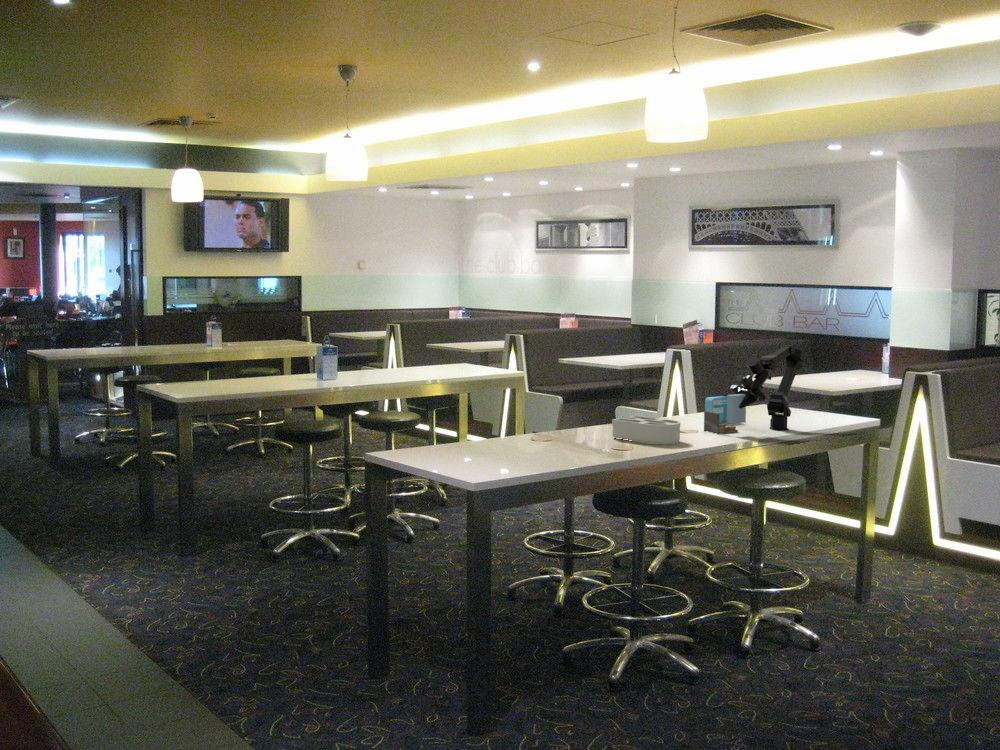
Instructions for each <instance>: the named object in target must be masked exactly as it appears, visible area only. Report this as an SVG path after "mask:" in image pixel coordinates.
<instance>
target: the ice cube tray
mask: <svg viewBox="0 0 1000 750" xmlns="http://www.w3.org/2000/svg"><path fill="white" fill-rule="evenodd" d="M611 424H612V438H613V437H615V438H622V439H628V440H632V441H636V442H635V443H637V442H641V443H640V444H644V443H648V444H647V445H651V444H672V445H675V444H674V443H677V444H679V443H680V438H681V421H679V420H674V419H666V418H658V417H651V416H649V417H648V416H641V415H633V416H632V415H631V416H628V417H627V418H621V417H620V418H614V419H611ZM678 442H679V443H678Z"/></svg>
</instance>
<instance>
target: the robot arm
mask: <svg viewBox="0 0 1000 750" xmlns="http://www.w3.org/2000/svg"><path fill="white" fill-rule="evenodd" d="M783 360H784V361H785V364H786V368H785V370H784V373H783V375H782V378H781V380H780V383H779V386H778V388H777V391H776V392H775V393H771V394H770V397H769V398H768V401H767V405H766V407H767V409H766V410H767V414H768V416H771V417H770V419H769V420H770V421H769V422H770V423H769V424H770V425H769V429H771V430H774V431H789V430H790V428H788V418H789V417H791V414H792V410H791V409H790V407H789V401H788V396H789V393H790V391H791V388H792V385H793V383H794V380H795V378H796V375H797V373H798V371H799V370H800V369H801V368H803V367H804V365H805V363H806V361H807V354H806V353H805V352H804V351H802V350H801V349H798V348H796V347H795V346H794V345H791V344H790V345H789V344H784V345H782V346H781V347H780V348H779V349H777V350H775V351H774V352H772V353H771V354H768V355H763V356H759V355H758V354H753V356H750V357H749V358H748V359H747V360H746V362H745V364H746V366H747V368H748V369H749V371H750V372H751V374H752V375H749V374H747V375H742V374H741V375H740V374H738V375H737V376H736V379H735V383H738V384H740V385H738V384H732V385H731V386H730V388H729V389H730V391H731V392H732V393H733V395H734V394H743V395H746V396H745V398H744V399H743V401H742V402H741V404H740V406H739V408H740V409H741V408H743V407H745V406H746V407H747V406H750V405H751V404H754V403H755V402H758V401H759V402H764V401H766V399H767V396H766V394H765V393H764V391H763V388H764V386H763V385H764V384H765V382H766V381H767V380H770V381H771V380H772V374H771V373H770V372H769V371H775V369H776V368H777V367H778V364H779V363H780V362H782V361H783Z"/></svg>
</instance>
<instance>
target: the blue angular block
mask: <svg viewBox="0 0 1000 750" xmlns="http://www.w3.org/2000/svg"><path fill="white" fill-rule="evenodd" d="M745 396H746V394H745V395H743V394H734V393H733V394H727V395H726V397H727V422H726V423H727V424H741V423H746V422H747V421H746V420H747V418H746V417H747V416H746V414H747V406H745V407H743V408H741V409H740V408H739V406H740V404H741V402H742V401H743V399H744V398H745Z"/></svg>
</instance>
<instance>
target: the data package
mask: <svg viewBox="0 0 1000 750" xmlns="http://www.w3.org/2000/svg"><path fill="white" fill-rule="evenodd" d="M704 411H709V412H714V413H719V422H721V423H724V422H723V421H727V396H724V395H718V396H711V397H710V396H708V397H706V398H705V401H704Z"/></svg>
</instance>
